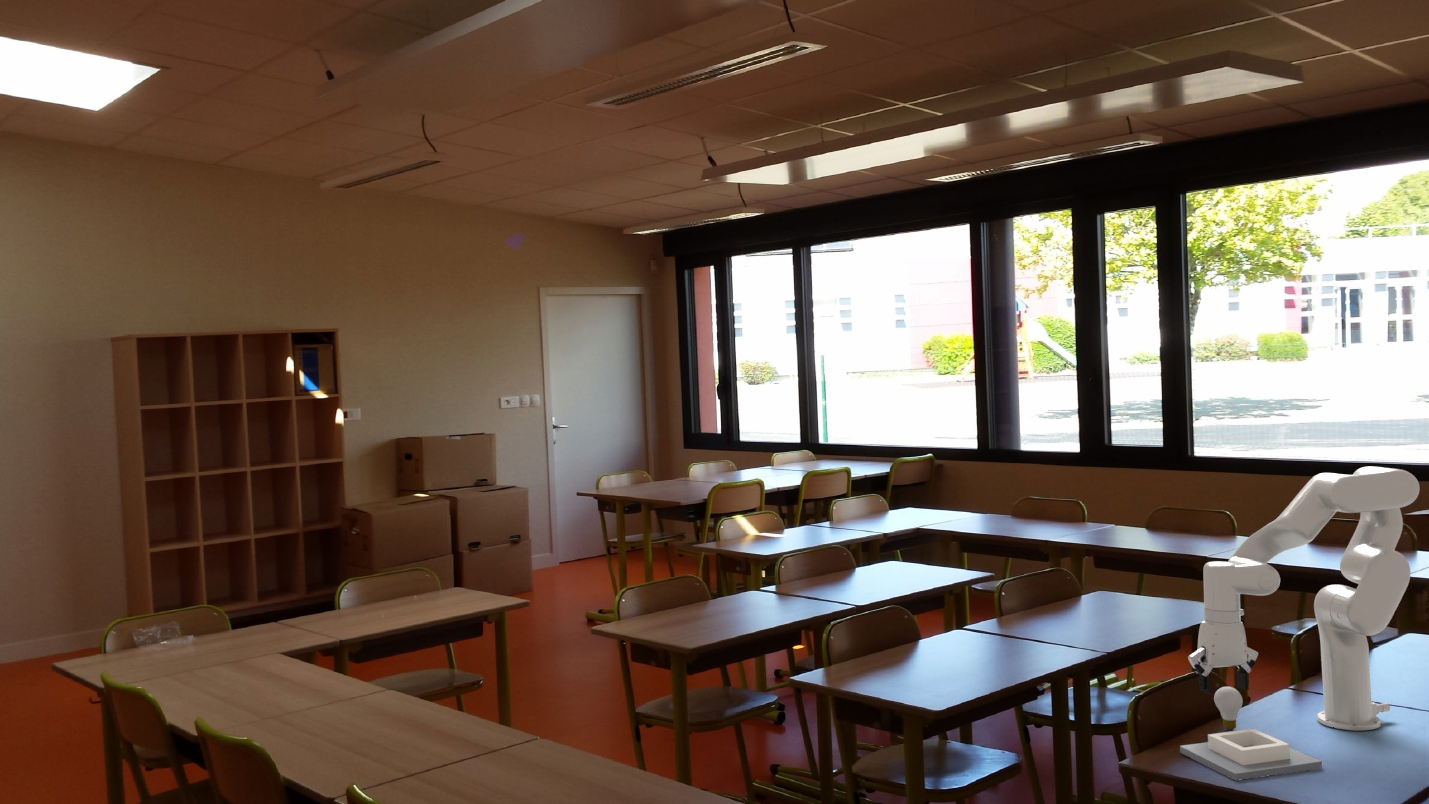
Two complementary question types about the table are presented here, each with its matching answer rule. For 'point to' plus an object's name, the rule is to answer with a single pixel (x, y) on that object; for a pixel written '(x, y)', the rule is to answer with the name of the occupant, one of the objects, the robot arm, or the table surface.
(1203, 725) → the table surface
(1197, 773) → the table surface
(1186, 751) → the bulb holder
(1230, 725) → the light bulb
